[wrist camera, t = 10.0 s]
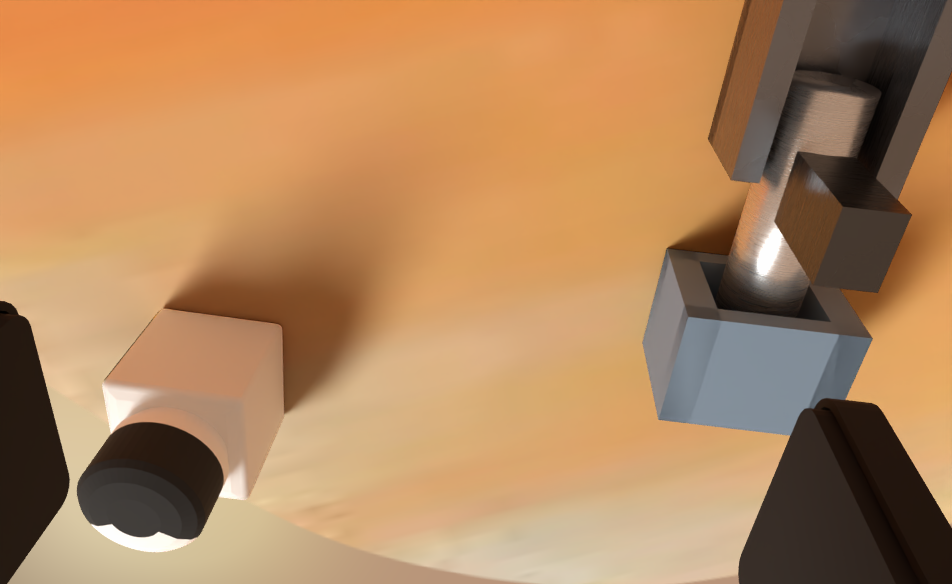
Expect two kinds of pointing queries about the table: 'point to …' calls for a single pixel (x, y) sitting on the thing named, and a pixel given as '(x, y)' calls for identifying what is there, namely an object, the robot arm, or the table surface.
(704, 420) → the socket block
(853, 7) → the sleeve
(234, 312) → the table surface
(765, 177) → the sliding bolt
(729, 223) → the table surface
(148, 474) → the medicine bottle
